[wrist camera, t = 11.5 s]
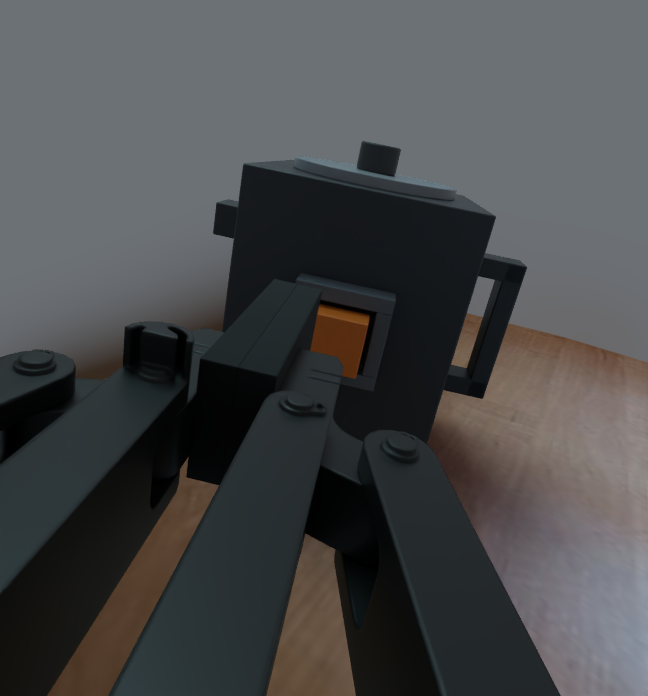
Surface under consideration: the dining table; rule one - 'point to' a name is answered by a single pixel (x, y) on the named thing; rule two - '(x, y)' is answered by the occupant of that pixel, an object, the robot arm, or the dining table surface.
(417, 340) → the kettle
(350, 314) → the kettle switch
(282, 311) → the robot arm
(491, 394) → the dining table surface
